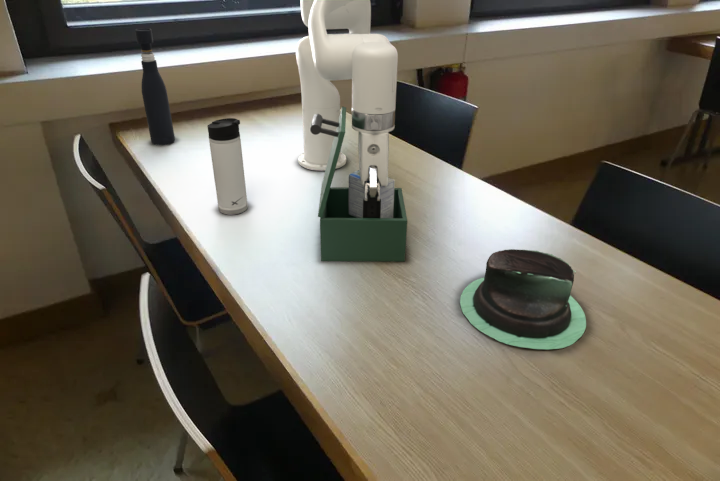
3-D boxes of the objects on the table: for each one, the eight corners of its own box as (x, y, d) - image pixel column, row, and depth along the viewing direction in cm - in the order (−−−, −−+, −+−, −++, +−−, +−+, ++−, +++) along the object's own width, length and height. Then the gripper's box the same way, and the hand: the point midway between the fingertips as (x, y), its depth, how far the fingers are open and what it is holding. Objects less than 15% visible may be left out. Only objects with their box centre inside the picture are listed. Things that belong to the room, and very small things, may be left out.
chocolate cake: (570, 271, 96) (613, 350, 79) (473, 308, 101) (494, 390, 84) (544, 206, 89) (585, 278, 72) (441, 250, 94) (457, 326, 77)
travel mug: (242, 216, 114) (232, 126, 103) (213, 213, 115) (200, 123, 104) (253, 203, 119) (244, 116, 109) (225, 200, 120) (214, 114, 110)
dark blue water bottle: (180, 140, 152) (161, 29, 137) (161, 147, 148) (140, 32, 132) (164, 136, 155) (145, 26, 140) (146, 142, 151) (124, 30, 135)
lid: (346, 107, 98) (316, 99, 97) (345, 132, 86) (311, 123, 86) (325, 185, 106) (298, 178, 105) (322, 218, 94) (291, 210, 94)
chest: (399, 226, 111) (401, 187, 107) (404, 261, 99) (407, 220, 95) (324, 225, 111) (323, 187, 106) (321, 261, 99) (319, 219, 95)
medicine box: (393, 220, 101) (395, 179, 97) (378, 228, 99) (379, 186, 94) (363, 207, 106) (364, 166, 102) (347, 214, 103) (347, 173, 99)
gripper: (398, 136, 85) (393, 230, 94) (391, 104, 100) (388, 188, 109) (351, 135, 85) (350, 230, 94) (351, 103, 100) (351, 187, 109)
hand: (370, 207), depth 101 cm, fingers closed on medicine box, 8 cm apart
